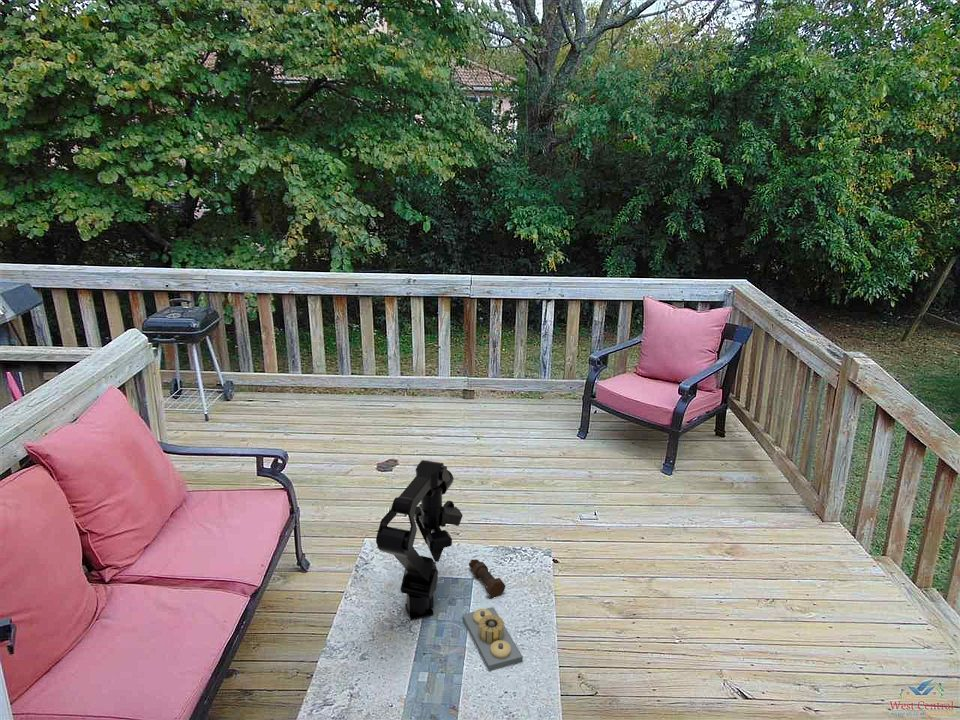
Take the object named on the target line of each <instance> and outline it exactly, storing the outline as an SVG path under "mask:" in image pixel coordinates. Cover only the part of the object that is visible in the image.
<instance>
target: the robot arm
mask: <svg viewBox="0 0 960 720" xmlns="http://www.w3.org/2000/svg"><path fill="white" fill-rule="evenodd" d="M454 480H455V479H454V476H453V474H452V472H451V471H450V470H448V466H446V465H445V464H444V462H438V461H433V460H432V461H431V460H425V459H422V460H421V461H420V462H419V463H418V464H417V466H416V468H415V477H414V478H413V479H412V480H411V482H410V483H408V486H406V488H405V489H404V490H403V491H402V492H401V494H400V495H399V496H398V497H397V496H396V497H395V498H393V500H392V501H393V502H392V504H391V508H390V510H389V511H388V512H387V513H386V514H385V515H384V517H383V518H382V519H381V520H380V523H379V528H378V529H377V534H376V536H375V537H376V538H375V544H376V546H377V549H378V550H379V551H380V552H382V553H386V554H390V555H393V556H394V557H395V558H396V560H397V561H398V563H400V564H401V565H402V567H403V568H404V571H403V576H402V581H401V586H400V592H401V594H406V603H405V604H404V606H405V609H406V611H407V614H408V617H409V619H410V620H411V621H414V620H416V619H417V618H418V619H421V618H427V617H429V616H433V615H434V614H435V613H434V610H433V609H434V604H435V603H434V594H435V592H436V591H437V584H438V576H439V571H438V569H437V565H436V564H437V563H438V562H439V561H440V559H441V558H442V557H441V556H442V554H443V551H444V549H445V548H449V547H452V545H453V538H452V537H451V534H450V532H449V531H447V530H446V529H444V530H442V529H441V528H443V527H446V524H447V525H451V526H452V525H453V526H455V527H460V524H461V522H462V519H463V516H464V515H463V513H462V512H461V510H460V509H459V508H458V507H457V506H455V503H454V502H453V500H447V501H446V502H445V503H444V504H443V495H445V494H446V493H447V492H448V490H449V489H450V487H451V486H452V485H453V482H454ZM418 505H419V506H418ZM398 514H400V515H405V516H408V520H409V524H410V527H409V530H408V529H402V528H398V527H393V526H392V527H391V526H388V525H389V524H390V522H392V520H393V519H394V518H396V516H397V515H398ZM417 527H418V528H417ZM418 530H419V531H420V534H421V535H422V538H423V540H424V542H425V545H427V547H428V548H427V549H429V552H430V554H431V556H432V557H429V556H423V555H420V554H419V553H418V551H417V550H416V548H415V547H414V544H415V539H416V535H417V532H418Z"/></svg>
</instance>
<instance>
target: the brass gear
mask: <svg viewBox="0 0 960 720" xmlns="http://www.w3.org/2000/svg"><path fill="white" fill-rule="evenodd" d="M498 616H499V615H498ZM498 616H496V615H486V616H483V617H482V618H481V619H480V620H479V632H478V635H479V638H480V639H481V640H482V641H484V642H485V643H486V642H487V643H490V644H492V642H495V641H498V640H502V639H503V636H504V626H505V621H504V620H503V618H501V617H500V616H499V617H498ZM490 621H493V622H494V623H495V627H493V628H490V627H488V623H489V622H490Z"/></svg>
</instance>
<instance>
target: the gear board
mask: <svg viewBox="0 0 960 720" xmlns="http://www.w3.org/2000/svg"><path fill="white" fill-rule="evenodd" d="M486 615H496V616H498V617H500V616H499V614H498V612H497V611H496V608H495V607H494V606H492V607H488V608H479V609H476V610H475V611H472V612H471V611H470V612H468V613H467V612H466V613H463V614H462V615H461V617H462V621H463V623H464V625H465V627H466V629H467V631H468V633H469V636H470V637H471V639H472V641H473V644H475V646H476V649H477V650H478V652H479V653H478V654H480V656H481V658H482V661H483V662H484V665H485V666H486V668H487V670H488V672H489V671H493V670H496V669H500V668H504V667H507V666H512V665H513V664H519V663H523V659H524V658H523V655H522V652H521V651H520V649H519V648H518V646H517V645H516V642H515V641H514V640H513V638H512V636H511V634H510V633H509V631H508V629H507V628H506V626H505V625H504V636H503V639H502V640H498V641H495V642H492V644H490V643H487V642H486V643H485V642H484V641H482V640H481V639H480V638H479V635H478V632H479V620H480V619H481V618H482V617H483V616H486ZM488 627H490V628H493V627H495V623H494V622H493V621H490V622H489V623H488Z"/></svg>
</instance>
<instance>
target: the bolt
mask: <svg viewBox="0 0 960 720" xmlns="http://www.w3.org/2000/svg"><path fill="white" fill-rule="evenodd" d="M468 566H469V568H470V569H471V573H472V574H473V575H474V577H475V578H476V579H479V580H481V582H482V583H483V584H484V585H485V586H486V587H485V590H486V593H488V595H489V596H490V597H491V598H493V599H495V598H498V597H500V596H501V595H502V594H503V593H505V589H506V584H505V583H504V581H503V580H502V579H501V578H500V577H497V578H495V577H494V576H493V574H491V572H490V571H489V568H488V566H487V565H486V564H485V563H484V561H479V559H477V558H475V559H473V558H472V559H470V560H469V563H468ZM494 597H495V598H494Z"/></svg>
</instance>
